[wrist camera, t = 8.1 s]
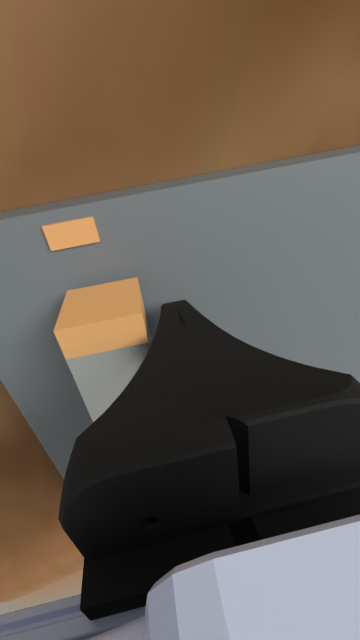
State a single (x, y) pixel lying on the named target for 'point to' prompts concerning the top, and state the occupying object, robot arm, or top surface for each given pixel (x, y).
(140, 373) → the robot arm
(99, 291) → the lever
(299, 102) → the top surface
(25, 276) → the plate
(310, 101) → the top surface
